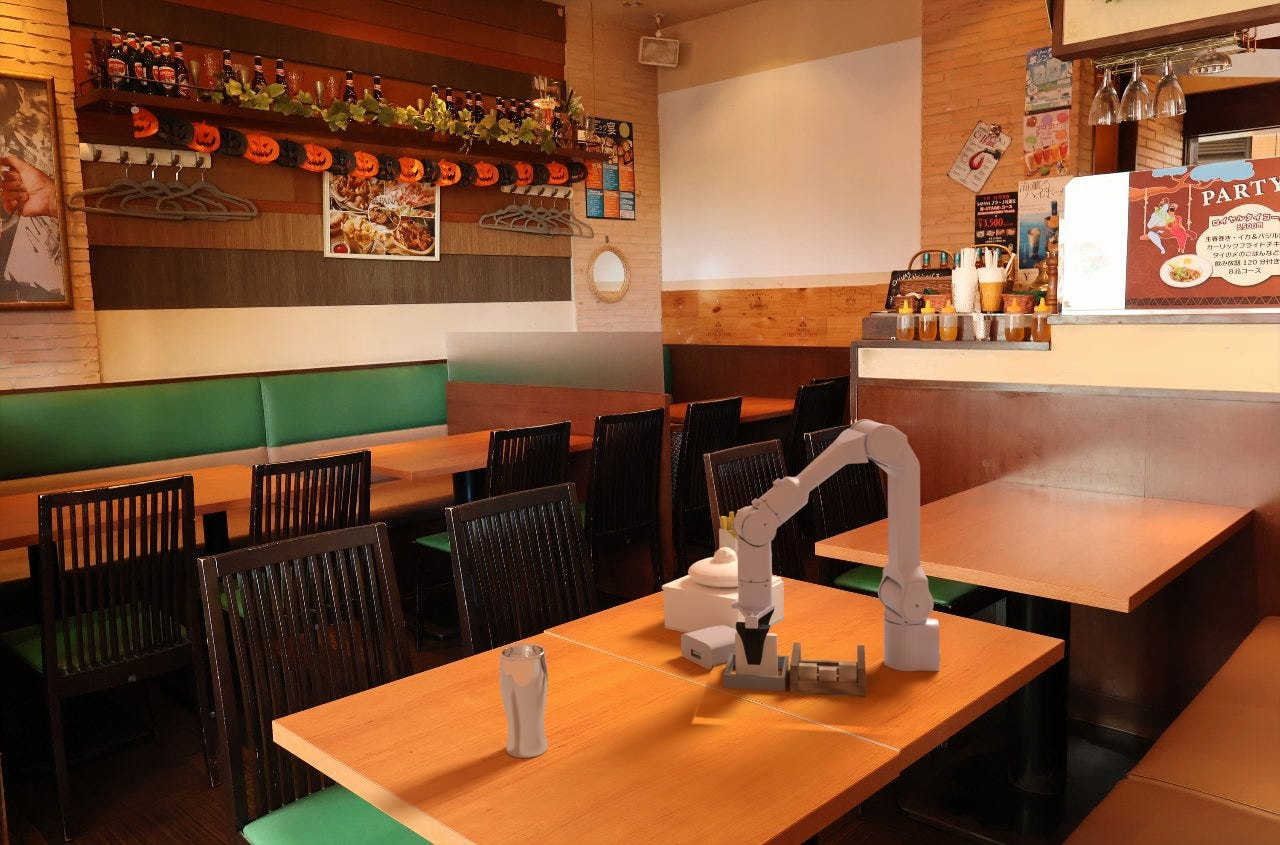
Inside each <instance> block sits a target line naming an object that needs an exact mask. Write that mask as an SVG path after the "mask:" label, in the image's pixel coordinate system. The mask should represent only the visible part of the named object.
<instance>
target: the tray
mask: <svg viewBox="0 0 1280 845" xmlns="http://www.w3.org/2000/svg"><path fill="white" fill-rule="evenodd" d="M777 657H778V670H782V672H781V676H780V675H778V676H765V675H745V674H736V673H733V669H734V668H736V654H735V653H730V655H729V658H728V661H727V662H726V665H725V667H724V670H723V673H722V685H723V686H722V688H723V689H741V690H761V691H762V690H763V691H778V692H779V691H780V692H781V691H782V692H786V687H787V682H788V680H787V679H788V674H789V671H790V662H789V661H790V659H789V657H790V656H789V655H780V654H777Z"/></svg>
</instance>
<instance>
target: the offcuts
mask: <svg viewBox="0 0 1280 845" xmlns="http://www.w3.org/2000/svg"><path fill="white" fill-rule="evenodd" d="M856 662H857V661H849V662H839V682H857V666H856ZM799 680H817V663H799ZM819 681H837V667H819Z"/></svg>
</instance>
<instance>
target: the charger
mask: <svg viewBox="0 0 1280 845" xmlns="http://www.w3.org/2000/svg"><path fill="white" fill-rule="evenodd" d="M736 632H737V630H735V629H733V628H730V627H728V626H725V625H717V626H713V627H709V628H705V629H701V630H697V631H693V632H690V633H682V634H681V635H680V647H681V648H680V650H681V652H680V653H681V656H682V657H683V658H685V659H686V660H689V661H690V662H692V663H695V664H697V665H699V666H701V667H704V668H705V669H707V670H709V671H710V670H713V668H714V667H715V666H718V665H721V664H725V663H727V661H728V658H729V655H730V653H735V633H736Z"/></svg>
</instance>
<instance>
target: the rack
mask: <svg viewBox="0 0 1280 845" xmlns="http://www.w3.org/2000/svg"><path fill="white" fill-rule="evenodd" d="M865 649H866V648H865V645H863V644H862V645H860V644H858V645H856V650H857V654H856V656H857V660H856V661H855V662H856V666H857V682H839V662H850V661H847V660H844V661H843V660H827V659H826V660H824V659H823V660H822V659H818V660H817V659H802V643H801V642H793V645H792V651H791V658H790V662H789V678H790V679H789V683H790V684H789V688H790V689H789V690H790V694H792V695H793V694H794V695H797V694H798V695H813V696H833V697H834V696H836V697H853V698H854V697H855V698H866V695H867V694H866V692H867V691H866V689H867V688H866V687H867V686H866V683H867V681H866V680H867V679H866V677H867V676H866V675H867V674H866V655H865V654H866V652H865ZM799 663H817V680H799ZM819 667H837V681H819Z"/></svg>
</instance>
